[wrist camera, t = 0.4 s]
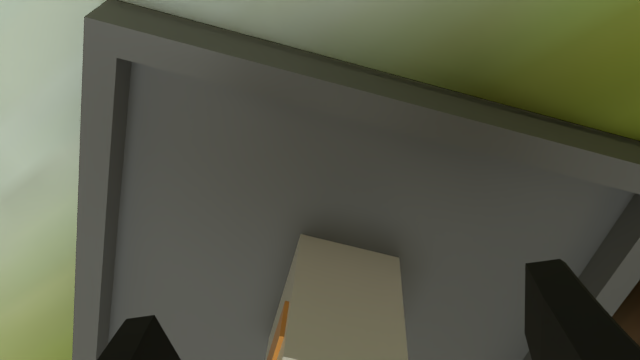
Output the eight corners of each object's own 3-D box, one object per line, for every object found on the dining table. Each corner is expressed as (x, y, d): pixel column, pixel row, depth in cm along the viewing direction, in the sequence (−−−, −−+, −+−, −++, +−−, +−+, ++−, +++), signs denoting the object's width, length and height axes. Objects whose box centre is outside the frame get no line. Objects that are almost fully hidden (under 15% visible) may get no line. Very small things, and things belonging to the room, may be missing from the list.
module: (355, 356, 26) (355, 488, 21) (265, 336, 26) (242, 465, 20) (399, 257, 23) (410, 384, 18) (296, 232, 22) (278, 355, 17)
